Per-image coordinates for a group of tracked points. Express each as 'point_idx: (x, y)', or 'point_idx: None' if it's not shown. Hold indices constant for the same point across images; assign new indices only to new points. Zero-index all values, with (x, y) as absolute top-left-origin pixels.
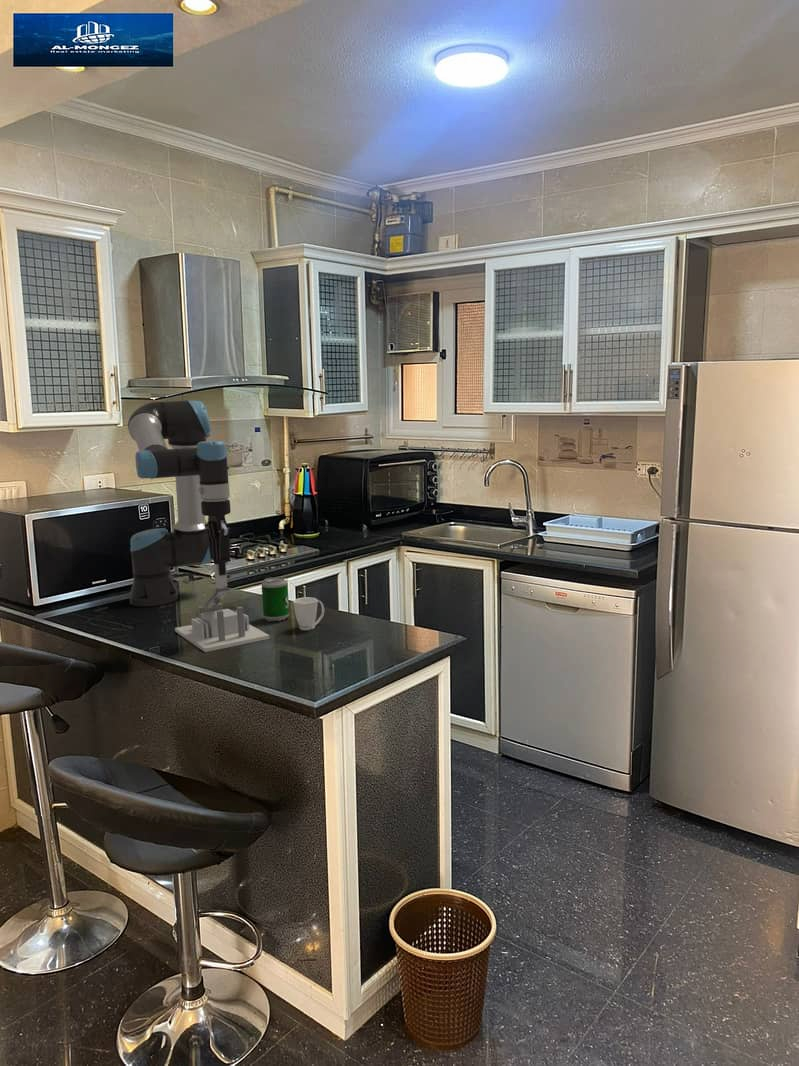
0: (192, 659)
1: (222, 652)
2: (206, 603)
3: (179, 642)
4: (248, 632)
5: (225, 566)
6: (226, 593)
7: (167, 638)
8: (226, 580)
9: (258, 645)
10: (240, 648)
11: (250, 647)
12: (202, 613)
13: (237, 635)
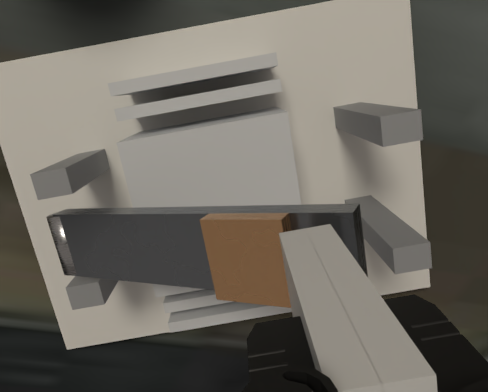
0: (478, 329)
1: (465, 222)
2: (95, 276)
3: (239, 343)
4: (304, 71)
5: (408, 340)
6: (276, 207)
7: (160, 375)
8: (343, 249)
9: (466, 66)
10: (459, 147)
11: (472, 105)
12: (159, 288)
13: (325, 131)
